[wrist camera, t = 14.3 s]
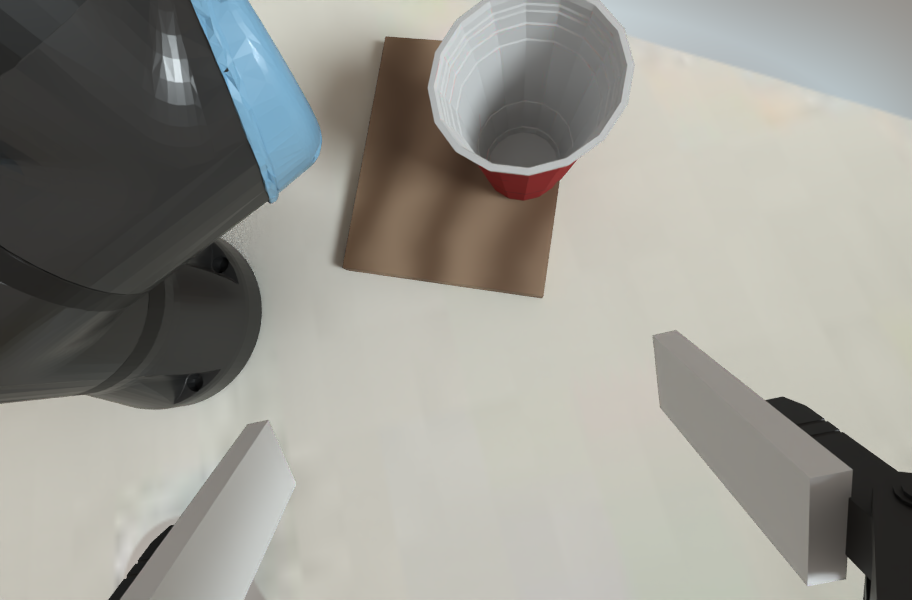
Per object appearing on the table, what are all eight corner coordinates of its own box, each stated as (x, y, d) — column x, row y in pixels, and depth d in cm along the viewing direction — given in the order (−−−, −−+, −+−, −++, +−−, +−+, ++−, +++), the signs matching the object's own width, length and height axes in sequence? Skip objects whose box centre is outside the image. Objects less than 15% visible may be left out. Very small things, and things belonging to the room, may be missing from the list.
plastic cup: (451, 105, 36) (425, -15, 24) (588, 97, 35) (630, -32, 23) (451, 235, 35) (423, 175, 23) (592, 231, 34) (639, 167, 22)
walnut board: (347, 270, 37) (342, 267, 36) (389, 46, 39) (385, 36, 38) (541, 298, 35) (543, 296, 34) (575, 60, 37) (578, 50, 36)
